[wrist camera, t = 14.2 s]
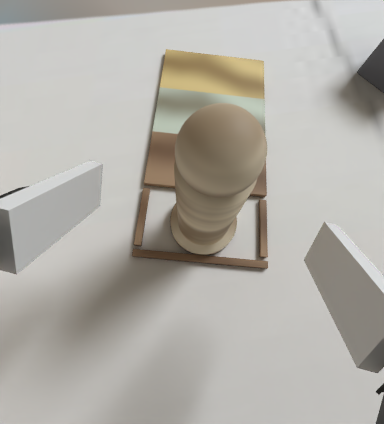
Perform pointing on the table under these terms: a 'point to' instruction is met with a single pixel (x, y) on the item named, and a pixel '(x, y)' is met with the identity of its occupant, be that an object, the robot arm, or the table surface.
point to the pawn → (214, 175)
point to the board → (181, 110)
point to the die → (374, 67)
